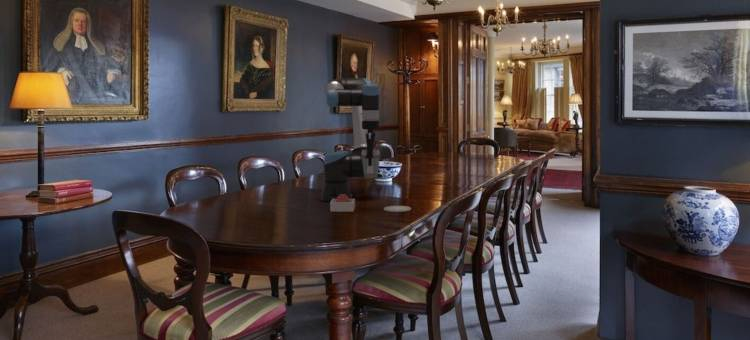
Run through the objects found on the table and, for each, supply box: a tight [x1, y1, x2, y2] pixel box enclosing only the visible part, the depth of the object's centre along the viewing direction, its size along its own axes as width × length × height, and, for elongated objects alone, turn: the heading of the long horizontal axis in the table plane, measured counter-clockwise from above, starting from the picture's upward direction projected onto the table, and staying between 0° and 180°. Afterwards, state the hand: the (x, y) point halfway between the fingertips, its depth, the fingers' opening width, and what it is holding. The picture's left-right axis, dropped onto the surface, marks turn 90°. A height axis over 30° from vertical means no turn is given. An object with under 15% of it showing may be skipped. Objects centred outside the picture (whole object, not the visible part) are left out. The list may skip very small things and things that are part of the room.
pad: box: [383, 205, 412, 213], centre depth 251 cm, size 12×12×1 cm
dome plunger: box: [334, 194, 352, 202], centre depth 251 cm, size 8×8×5 cm
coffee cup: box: [361, 148, 381, 179], centre depth 249 cm, size 8×8×12 cm
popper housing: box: [329, 198, 356, 213], centre depth 251 cm, size 10×10×4 cm
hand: (370, 171), depth 250 cm, fingers closed on coffee cup, 8 cm apart
